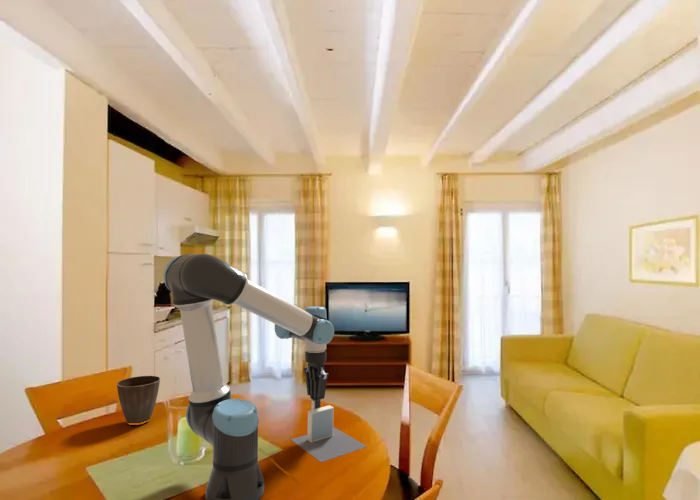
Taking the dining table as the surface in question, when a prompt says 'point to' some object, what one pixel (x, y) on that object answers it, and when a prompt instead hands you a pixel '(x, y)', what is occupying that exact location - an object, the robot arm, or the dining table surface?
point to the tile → (320, 423)
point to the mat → (329, 445)
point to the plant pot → (138, 397)
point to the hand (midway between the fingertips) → (315, 417)
